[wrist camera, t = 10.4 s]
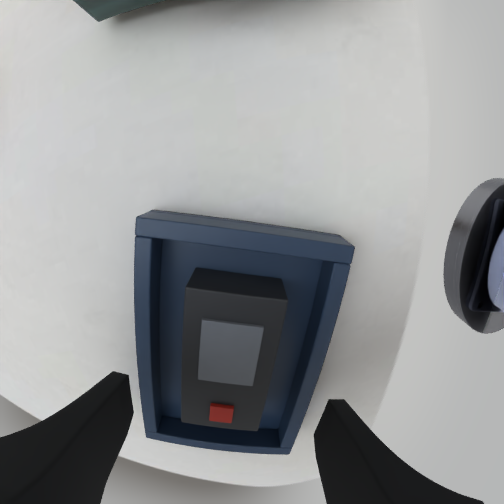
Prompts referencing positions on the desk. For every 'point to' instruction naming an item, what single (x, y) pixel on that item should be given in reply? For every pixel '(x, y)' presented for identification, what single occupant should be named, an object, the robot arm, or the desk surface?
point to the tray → (245, 262)
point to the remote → (229, 347)
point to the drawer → (111, 7)
